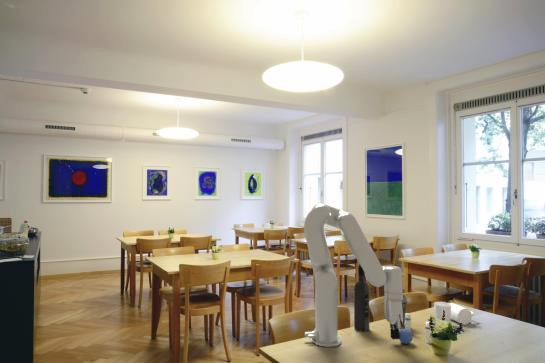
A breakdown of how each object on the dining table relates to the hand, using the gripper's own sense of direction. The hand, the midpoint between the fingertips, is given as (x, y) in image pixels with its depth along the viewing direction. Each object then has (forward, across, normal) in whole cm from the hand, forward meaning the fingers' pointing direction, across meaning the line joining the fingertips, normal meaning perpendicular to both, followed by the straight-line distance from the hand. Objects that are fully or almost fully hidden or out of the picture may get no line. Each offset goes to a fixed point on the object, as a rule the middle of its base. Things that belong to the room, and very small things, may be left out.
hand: (395, 338), depth 163 cm
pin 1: (+3, -12, +11) cm, 17 cm away
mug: (+4, -26, +45) cm, 52 cm away
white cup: (+3, -22, +33) cm, 40 cm away
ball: (-1, 0, +5) cm, 5 cm away
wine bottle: (+2, -18, -9) cm, 20 cm away
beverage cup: (+3, -22, +11) cm, 25 cm away
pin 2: (+3, 0, +15) cm, 15 cm away
